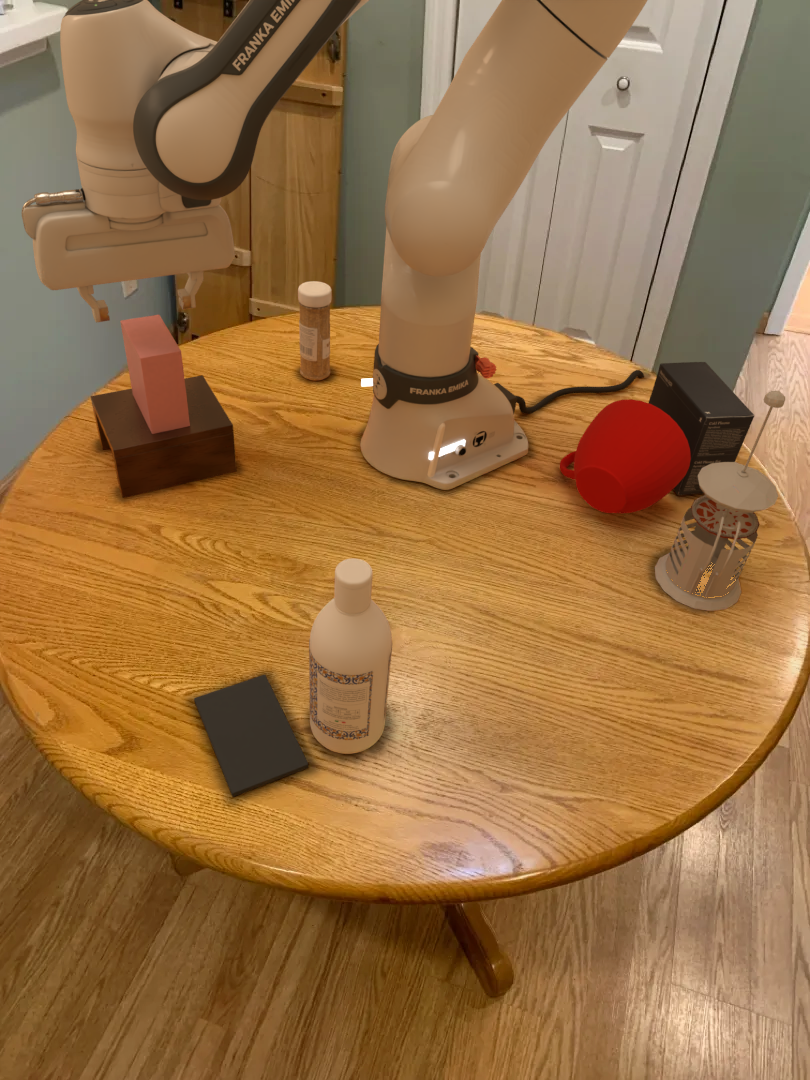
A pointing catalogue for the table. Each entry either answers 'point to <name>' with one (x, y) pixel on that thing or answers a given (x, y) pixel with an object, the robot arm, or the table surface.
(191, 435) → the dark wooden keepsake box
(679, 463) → the ceramic cup
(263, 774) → the mat
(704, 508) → the french press
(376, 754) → the table surface
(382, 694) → the bath foam
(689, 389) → the small box
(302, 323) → the sprinkles bottle
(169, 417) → the block
